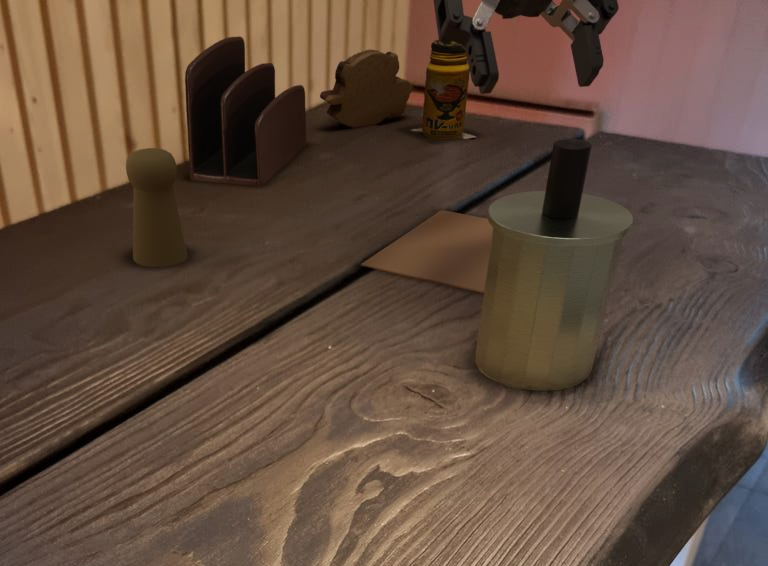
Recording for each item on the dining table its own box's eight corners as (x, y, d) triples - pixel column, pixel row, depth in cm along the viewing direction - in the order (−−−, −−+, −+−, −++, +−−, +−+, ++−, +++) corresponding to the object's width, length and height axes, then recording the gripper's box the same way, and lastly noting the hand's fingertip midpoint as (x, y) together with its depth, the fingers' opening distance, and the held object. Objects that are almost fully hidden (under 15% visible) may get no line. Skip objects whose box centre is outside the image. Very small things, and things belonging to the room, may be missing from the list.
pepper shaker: (127, 254, 102) (113, 146, 95) (179, 247, 104) (170, 139, 96) (140, 274, 98) (127, 162, 91) (195, 266, 100) (186, 155, 92)
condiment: (437, 146, 132) (446, 48, 124) (401, 132, 137) (408, 38, 129) (476, 138, 135) (488, 42, 127) (440, 125, 140) (449, 32, 132)
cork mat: (603, 246, 103) (604, 240, 103) (538, 309, 91) (539, 303, 90) (440, 214, 111) (441, 209, 111) (360, 269, 99) (360, 264, 98)
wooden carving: (392, 113, 145) (396, 39, 139) (413, 119, 143) (418, 43, 136) (313, 133, 138) (314, 55, 131) (334, 139, 135) (336, 60, 128)
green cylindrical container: (605, 359, 83) (639, 213, 74) (566, 406, 77) (599, 253, 68) (500, 334, 87) (522, 193, 78) (456, 376, 81) (474, 228, 72)
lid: (647, 220, 75) (668, 136, 71) (603, 265, 68) (623, 175, 64) (517, 197, 79) (529, 116, 75) (463, 237, 72) (473, 151, 68)
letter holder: (189, 183, 121) (179, 58, 111) (242, 141, 134) (237, 27, 125) (261, 190, 118) (257, 63, 109) (307, 147, 132) (308, 31, 123)
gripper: (432, -156, 68) (474, 57, 67) (607, -161, 70) (648, 45, 70) (402, -73, 75) (439, 120, 75) (562, -80, 78) (599, 107, 77)
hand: (540, 83), depth 72 cm, fingers open, 8 cm apart
